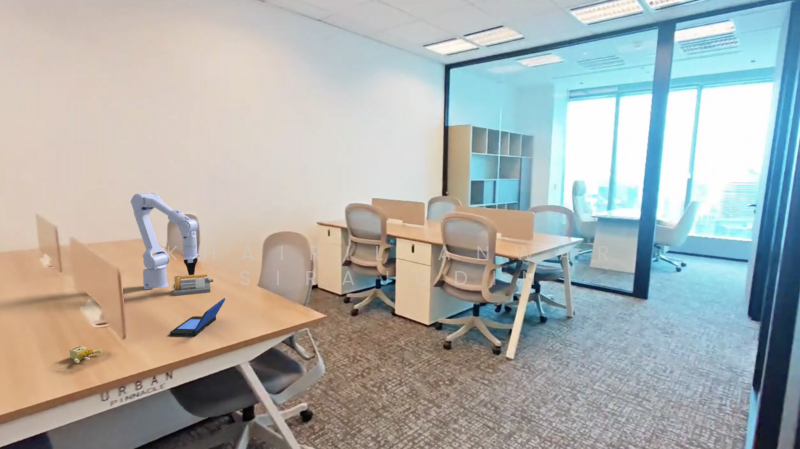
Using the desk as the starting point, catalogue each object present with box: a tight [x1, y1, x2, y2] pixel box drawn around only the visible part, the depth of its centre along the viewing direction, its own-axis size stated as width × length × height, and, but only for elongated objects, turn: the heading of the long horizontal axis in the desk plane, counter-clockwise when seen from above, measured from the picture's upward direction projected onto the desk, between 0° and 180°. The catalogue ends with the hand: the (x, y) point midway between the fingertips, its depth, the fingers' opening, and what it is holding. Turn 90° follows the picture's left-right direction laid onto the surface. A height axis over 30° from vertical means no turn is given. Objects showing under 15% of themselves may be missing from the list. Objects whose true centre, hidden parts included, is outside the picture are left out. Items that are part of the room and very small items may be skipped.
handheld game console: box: [169, 297, 226, 338], centre depth 146 cm, size 16×13×9 cm
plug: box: [195, 277, 214, 289], centre depth 188 cm, size 7×4×6 cm, turn 116°
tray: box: [181, 277, 211, 286], centre depth 196 cm, size 14×8×2 cm, turn 116°
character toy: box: [69, 345, 104, 364], centre depth 122 cm, size 8×3×8 cm
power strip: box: [173, 283, 211, 297], centre depth 186 cm, size 14×9×2 cm, turn 116°
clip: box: [174, 273, 208, 290], centre depth 185 cm, size 13×2×6 cm, turn 116°
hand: (191, 274), depth 188 cm, fingers closed
